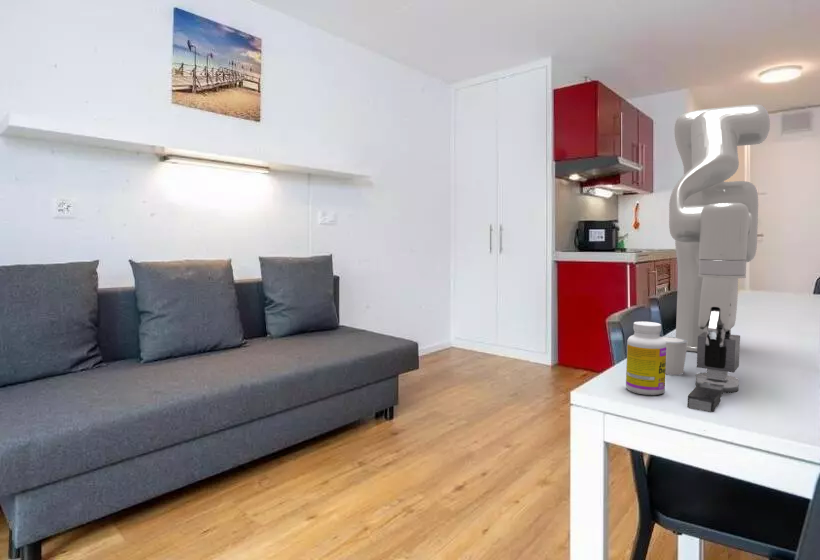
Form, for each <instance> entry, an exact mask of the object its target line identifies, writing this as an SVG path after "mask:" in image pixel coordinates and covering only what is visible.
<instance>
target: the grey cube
mask: <svg viewBox="0 0 820 560" xmlns="http://www.w3.org/2000/svg"><path fill="white" fill-rule="evenodd" d="M719 335H720V336H721V334H719ZM706 336H707V332H703V333H702V334H700V335H699V336H698V343H697V352H696V368H698V369H705V370H707V369H711V370H718V371H725V372H728V373H735V372H736V371H737V370H738V368H739V366H740V353H741V352H740V347H741V335H739V334H732V333H731V334H725V341H724V347H726V355H725V367H724V368H723V369H721V368H714V367H707V366H705V365H704V362H705V345H706Z"/></svg>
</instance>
